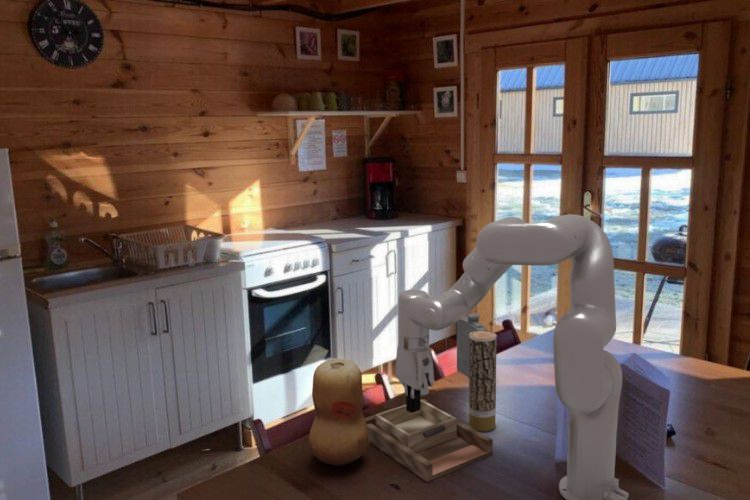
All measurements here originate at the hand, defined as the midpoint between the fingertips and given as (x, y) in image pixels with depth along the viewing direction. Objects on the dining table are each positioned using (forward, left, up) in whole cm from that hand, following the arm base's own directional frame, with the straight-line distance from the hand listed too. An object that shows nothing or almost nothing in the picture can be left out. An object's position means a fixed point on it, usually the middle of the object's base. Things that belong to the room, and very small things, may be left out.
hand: (413, 410), depth 164 cm
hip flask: (+21, -39, -8) cm, 45 cm away
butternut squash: (+2, +21, -8) cm, 22 cm away
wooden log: (-6, -18, -8) cm, 21 cm away
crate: (-1, 0, -7) cm, 7 cm away
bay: (-4, 0, -8) cm, 9 cm away
